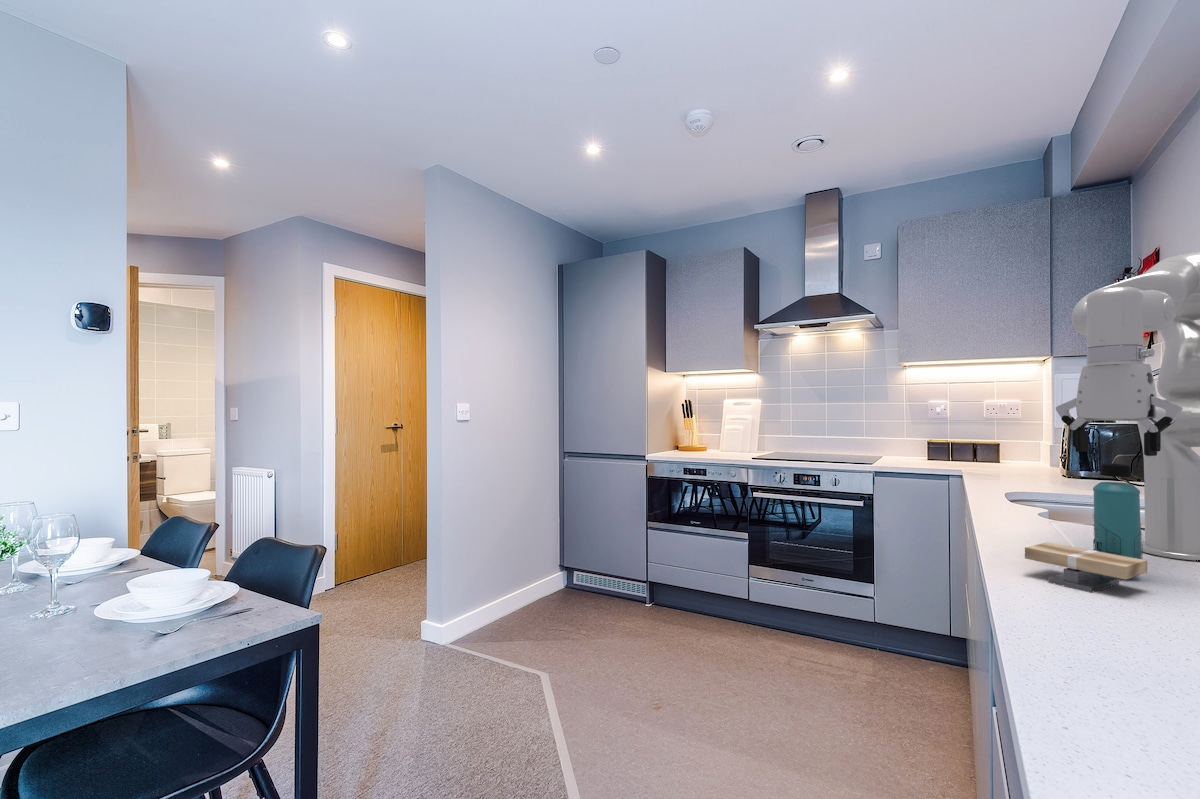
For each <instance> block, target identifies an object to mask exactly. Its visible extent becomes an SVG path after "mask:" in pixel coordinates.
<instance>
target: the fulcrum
mask: <svg viewBox="0 0 1200 799" xmlns="http://www.w3.org/2000/svg"><path fill="white" fill-rule="evenodd" d="M1049 582H1051V583H1050V584H1053V583H1055V585H1058V584H1059V585H1058V586H1062V585H1064V586H1063V587H1066V586H1068V588H1071V587H1073V588H1072V589H1075V588H1076V590H1079V589H1080V590H1079V591H1083V590H1085V591H1084V592H1088V591H1089V593H1094V592H1097V591H1100V590H1103V589H1106V588H1109V587H1108V586H1110V587H1112V586H1111V585H1113V586H1115V585H1114V584H1116V585H1118V584H1117V583H1119V584H1120V578H1116V577H1111V576H1106V575H1101V574H1096V573H1092V572H1087V571H1082V570H1077V569H1071V568H1068V567H1065V568H1063V573H1059V574H1057V575H1054V576H1050V577H1048V583H1049ZM1105 587H1106V588H1105ZM1102 588H1103V589H1102ZM1099 589H1100V590H1099ZM1093 591H1094V592H1093Z"/></svg>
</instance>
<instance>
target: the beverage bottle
mask: <svg viewBox="0 0 1200 799" xmlns="http://www.w3.org/2000/svg"><path fill="white" fill-rule="evenodd" d="M1099 475H1100V476H1104V477H1115V478H1132V471H1131V466H1130V465H1128V464H1123V463H1101V465H1100V471H1099ZM1092 490H1093V509H1092V511H1093V514H1092V517H1093V518H1092V519H1093V532H1092V533H1093V536H1094V539H1093V542H1092V543H1093V546H1092V547H1094V548H1093V550H1094V551H1099V552H1104V553H1110V554H1115V555H1121V556H1126V557H1132V558H1137V559H1143V553H1144V552H1143V545H1142V544H1141V541H1142V536H1143V533H1142V531H1143V529H1142V523H1141V503H1140V502H1141V501H1140V500H1141V499H1140V496H1141V495H1140V494H1141V490H1140V489H1139V488H1137V487H1136V486H1135V485H1134V484H1133V483H1128V482H1116V481H1100V482H1098V483H1097V484H1095V485H1094V486H1093V487H1092ZM1141 545H1142V551H1141Z"/></svg>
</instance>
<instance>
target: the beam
mask: <svg viewBox="0 0 1200 799" xmlns="http://www.w3.org/2000/svg"><path fill="white" fill-rule="evenodd" d="M1024 559H1025V560H1029V561H1030V560H1031V561H1034V562H1040V563H1044V564H1050V565H1053V566H1059V567H1064V568H1071V569H1077V570H1082V571H1087V572H1092V573H1096V574H1101V575H1104V576H1109V577H1114V578H1119V580H1121V579H1122V580H1129V579H1132V578H1135V577H1138V576H1141V575H1144V574H1147V573H1148V559H1144V558H1142V559H1137V558H1132V557H1126V556H1121V555H1115V554H1110V553H1104V552H1099V551H1095V550H1094V549H1087V548H1081V547H1076V546H1070V545H1064V544H1059V543H1054V542H1049V541H1046V542H1044V543H1038V544H1035V545H1030V546H1026V547H1024Z"/></svg>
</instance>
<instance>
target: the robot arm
mask: <svg viewBox="0 0 1200 799" xmlns="http://www.w3.org/2000/svg"><path fill="white" fill-rule="evenodd" d="M1195 321H1200V251H1194V252H1189V253H1183V254H1177V255H1174V256H1170V257H1167V258H1164V259H1162V260H1160V261H1158V262H1157V263H1155V264H1154V265H1152V266H1151V267H1150V268H1148V269H1147V270H1146V271H1145V272H1143V273H1142V274H1139V275H1135V276H1133V277H1130V278H1127V279H1124V280H1122V281H1121V280H1120V281H1118V282H1115V283H1113V284H1109V285H1106V286H1103V287H1100V288H1097V289H1096V290H1095V289H1094V290H1093V291H1091V292H1089V293H1087V294H1086V295H1085V296H1083V297H1082V298H1081V299H1080V300H1078V302H1077V303H1076V304H1075V306H1074V308H1073V309H1072V313H1071V325H1072V327H1073V329H1074V330H1075V331H1076V333H1078V334H1079V335H1081V336H1084V337H1086V366H1085V365H1084V366H1082V367H1081V371H1080V375H1079V380H1078V384H1077V392H1076V397H1075V398H1074V399H1071V400H1069V401H1066V402H1064V403H1062V404H1060V405H1057V406H1056V407H1055V410H1056V412H1057V414H1058V416H1059V417H1060V418H1061V421H1062V422H1063V423H1065V425H1067V426H1068V428H1069V429H1070V430H1071V431H1072V447H1074V448H1075V452H1076V453H1086V452H1088V451H1089V432H1088V431H1087V429H1086V427H1088V426H1089V425H1090V424H1091V422H1093V421H1109V422H1110V421H1114V422H1115V421H1118V422H1121V421H1123V422H1131V421H1132V422H1137V423H1136V424H1137V427H1138V432H1139V436H1140V442H1141V446H1142V454H1143V455H1142V456H1143V478H1144V479H1143V483H1144V484H1143V486H1144V487H1143V488H1144V540H1141V544H1142V545H1143V553H1146V554H1150V555H1154V556H1158V557H1165V558H1171V559H1175V560H1177V559H1178V560H1185V561H1187V560H1188V561H1195V562H1196V560H1197V562H1199V561H1198V560H1200V455H1199V454H1198V453H1196V452H1195V451H1194V450H1193V448H1200V324H1198V323H1196V322H1195ZM1156 331H1159V332H1160V334H1161V336H1162V338H1163V342H1164V345H1165V347H1164V348H1165V349H1164V352H1163V356H1162V360H1161V364H1160V368H1159V372H1158V376H1157V380H1156V382H1157V385H1156V384H1155V380H1154V374H1153V370H1152V367H1151V364H1148V363H1144V362H1145V361H1146V359H1147V358H1151V357H1154V356H1155V350H1154V349H1153V348H1146V347H1145V346H1144V333H1151V332H1156ZM1156 388H1157V391H1156ZM1157 392H1158V394H1159V396H1160V397H1162V398H1163V399H1162V398H1159V397H1157ZM1075 408H1076V416H1077V418H1076V419H1075V418H1074V417H1073V416H1072V415H1071V413H1070V410H1072V409H1075ZM1142 545H1141V552H1142Z"/></svg>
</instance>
